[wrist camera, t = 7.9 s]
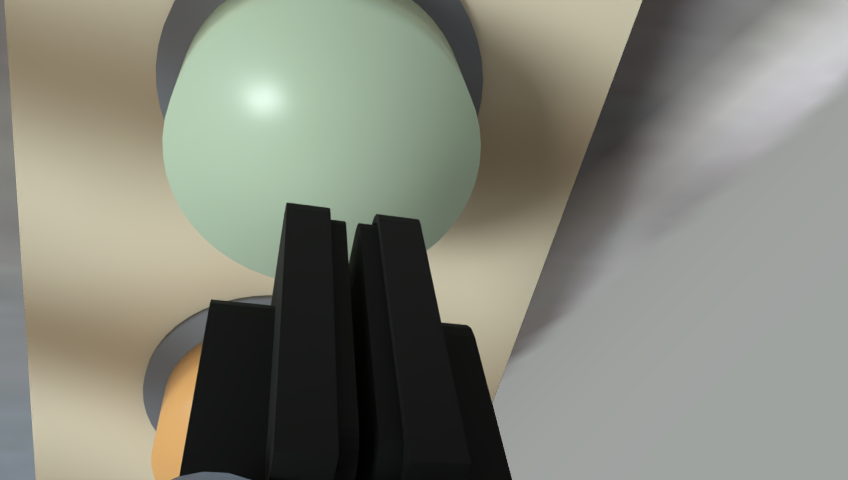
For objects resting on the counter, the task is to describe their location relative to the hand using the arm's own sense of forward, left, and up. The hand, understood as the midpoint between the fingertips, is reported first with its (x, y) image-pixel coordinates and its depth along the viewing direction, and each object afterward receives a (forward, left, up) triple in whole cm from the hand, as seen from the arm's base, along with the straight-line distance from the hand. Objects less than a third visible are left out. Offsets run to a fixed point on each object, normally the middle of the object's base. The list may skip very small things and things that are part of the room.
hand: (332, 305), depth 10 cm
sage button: (0, 0, -5) cm, 5 cm away
